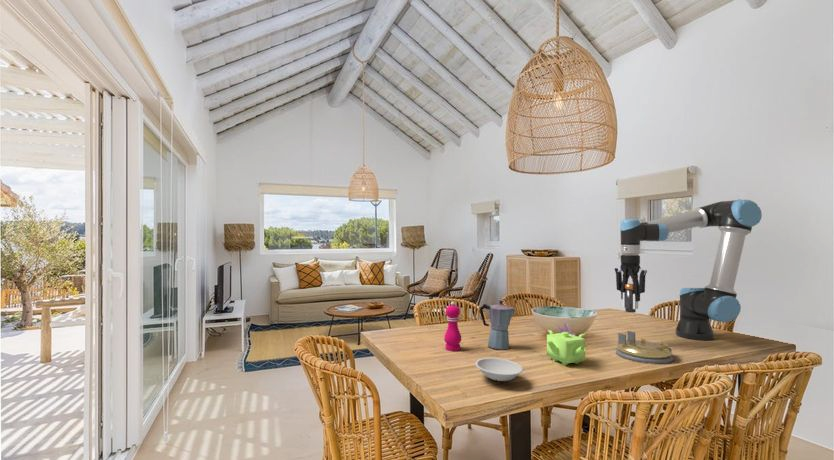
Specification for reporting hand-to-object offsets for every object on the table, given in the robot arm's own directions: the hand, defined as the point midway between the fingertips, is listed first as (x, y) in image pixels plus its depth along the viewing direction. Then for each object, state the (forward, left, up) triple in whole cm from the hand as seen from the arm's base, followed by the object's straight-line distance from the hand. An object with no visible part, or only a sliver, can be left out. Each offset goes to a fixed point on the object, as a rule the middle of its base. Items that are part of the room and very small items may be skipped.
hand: (630, 307), depth 180 cm
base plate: (+11, +12, -16) cm, 23 cm away
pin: (0, 0, -2) cm, 2 cm away
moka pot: (+52, -28, -16) cm, 61 cm away
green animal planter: (+43, 0, -16) cm, 46 cm away
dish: (+79, +1, -16) cm, 81 cm away
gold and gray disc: (+11, +12, -15) cm, 22 cm away
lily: (+26, -13, -17) cm, 33 cm away
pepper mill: (+70, -36, -16) cm, 81 cm away
